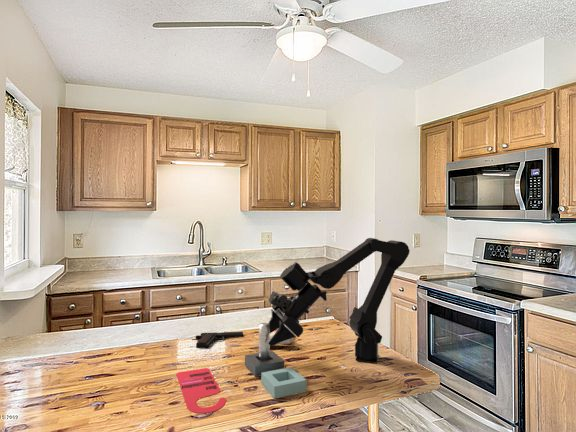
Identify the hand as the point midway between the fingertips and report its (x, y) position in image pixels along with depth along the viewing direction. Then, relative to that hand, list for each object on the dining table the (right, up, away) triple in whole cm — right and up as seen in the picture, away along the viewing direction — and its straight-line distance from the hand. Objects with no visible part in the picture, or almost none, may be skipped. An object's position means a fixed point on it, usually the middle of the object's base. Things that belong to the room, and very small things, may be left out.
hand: (266, 339), depth 114 cm
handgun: (-18, -9, +23) cm, 30 cm away
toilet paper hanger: (+3, -9, +26) cm, 28 cm away
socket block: (-1, -9, 0) cm, 9 cm away
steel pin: (-1, -9, 0) cm, 9 cm away
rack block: (+5, -9, -12) cm, 16 cm away
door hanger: (-17, -9, -13) cm, 23 cm away
